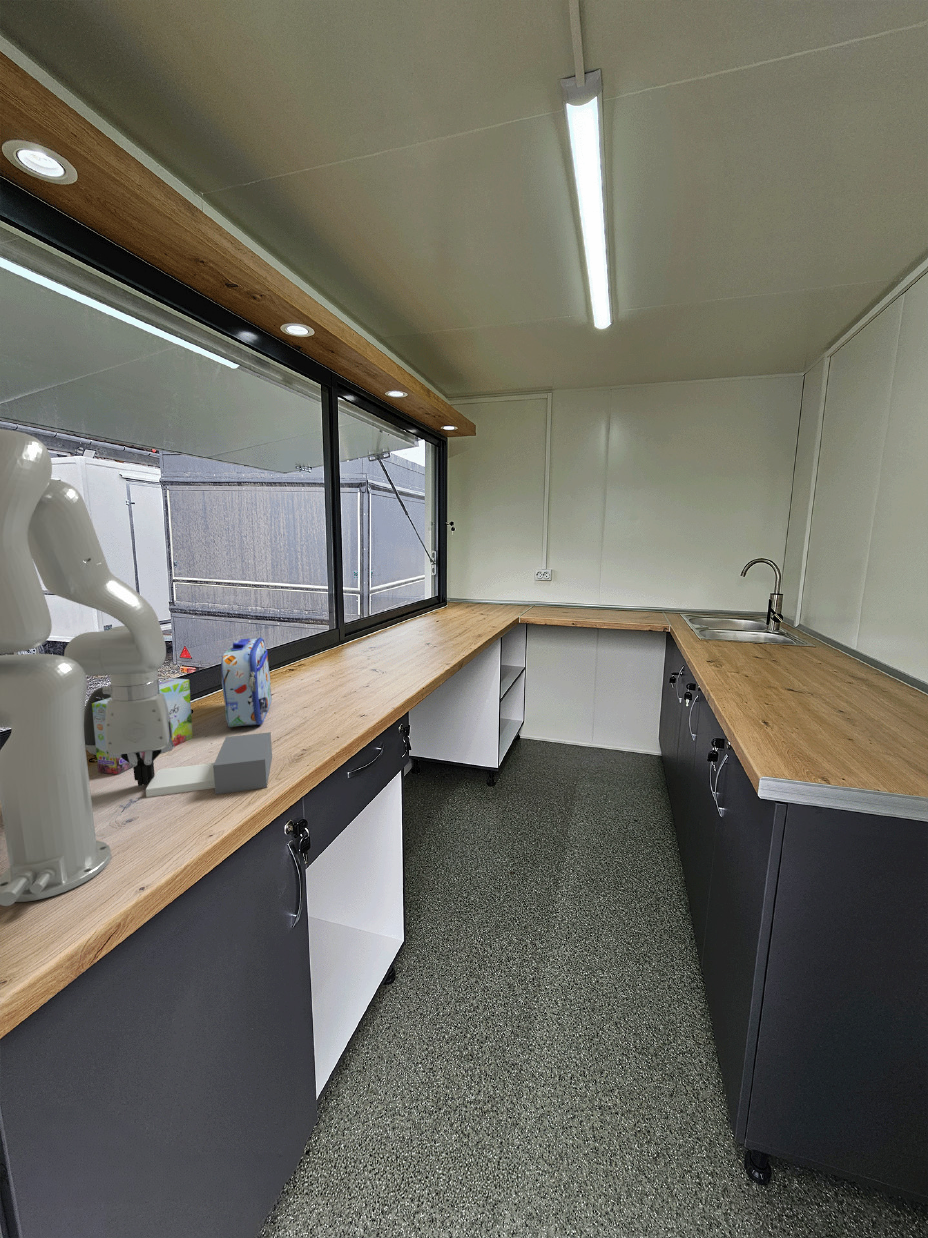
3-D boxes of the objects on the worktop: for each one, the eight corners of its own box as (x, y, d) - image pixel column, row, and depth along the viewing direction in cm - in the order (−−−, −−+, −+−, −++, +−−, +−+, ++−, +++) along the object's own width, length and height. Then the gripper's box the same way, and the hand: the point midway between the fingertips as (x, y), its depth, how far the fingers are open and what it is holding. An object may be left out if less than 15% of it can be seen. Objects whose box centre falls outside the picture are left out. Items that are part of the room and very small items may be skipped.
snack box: (120, 775, 102) (112, 704, 100) (97, 773, 103) (89, 702, 101) (195, 737, 123) (190, 677, 121) (175, 736, 124) (169, 676, 122)
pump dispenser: (73, 764, 108) (65, 695, 106) (94, 745, 118) (87, 683, 116) (128, 758, 111) (121, 691, 108) (143, 741, 120) (137, 679, 118)
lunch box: (267, 732, 126) (262, 646, 123) (222, 737, 123) (215, 649, 120) (273, 701, 152) (269, 629, 149) (236, 704, 149) (231, 631, 146)
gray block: (266, 787, 96) (265, 759, 96) (215, 794, 94) (213, 765, 93) (272, 757, 111) (270, 732, 110) (227, 762, 108) (225, 737, 107)
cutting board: (240, 786, 98) (239, 777, 98) (146, 799, 93) (145, 789, 93) (245, 768, 106) (244, 759, 106) (159, 778, 102) (158, 769, 101)
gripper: (80, 700, 89) (92, 797, 91) (175, 692, 93) (183, 785, 96) (97, 689, 96) (107, 779, 98) (185, 682, 100) (192, 769, 103)
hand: (145, 782), depth 97 cm, fingers closed
